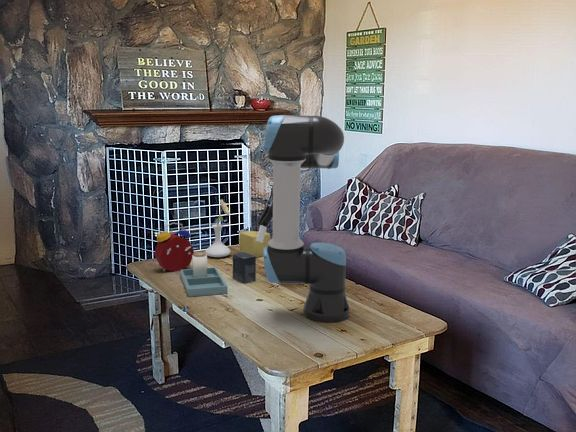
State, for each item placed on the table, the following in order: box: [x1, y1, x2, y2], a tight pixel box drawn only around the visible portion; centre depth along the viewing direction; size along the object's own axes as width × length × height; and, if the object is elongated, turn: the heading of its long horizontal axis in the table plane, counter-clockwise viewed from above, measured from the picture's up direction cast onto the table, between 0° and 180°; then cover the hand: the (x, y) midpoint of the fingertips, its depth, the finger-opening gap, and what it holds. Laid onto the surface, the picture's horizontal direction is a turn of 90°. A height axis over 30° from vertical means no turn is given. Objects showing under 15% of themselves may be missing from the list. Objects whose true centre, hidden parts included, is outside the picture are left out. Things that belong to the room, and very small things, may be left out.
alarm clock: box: [153, 222, 195, 272], centre depth 235 cm, size 15×9×20 cm, turn 123°
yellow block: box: [238, 230, 271, 258], centre depth 262 cm, size 10×11×10 cm
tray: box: [179, 266, 229, 298], centre depth 220 cm, size 24×14×3 cm, turn 17°
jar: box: [191, 251, 208, 278], centre depth 226 cm, size 6×6×10 cm
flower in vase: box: [204, 199, 232, 258], centre depth 258 cm, size 13×11×25 cm
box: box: [232, 252, 257, 285], centre depth 225 cm, size 8×6×11 cm
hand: (268, 241), depth 221 cm, fingers open, 13 cm apart
